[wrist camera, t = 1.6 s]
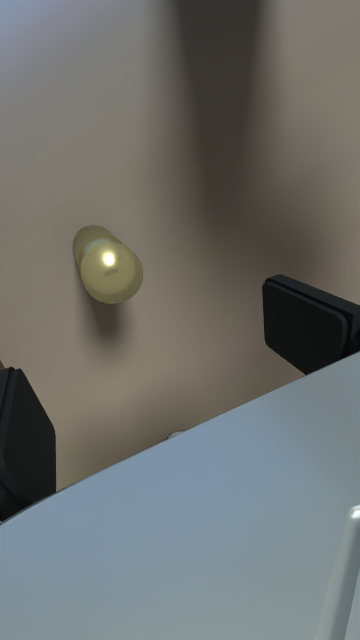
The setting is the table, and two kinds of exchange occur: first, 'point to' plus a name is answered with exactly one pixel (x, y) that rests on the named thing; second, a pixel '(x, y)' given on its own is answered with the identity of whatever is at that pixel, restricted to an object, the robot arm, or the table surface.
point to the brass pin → (106, 265)
